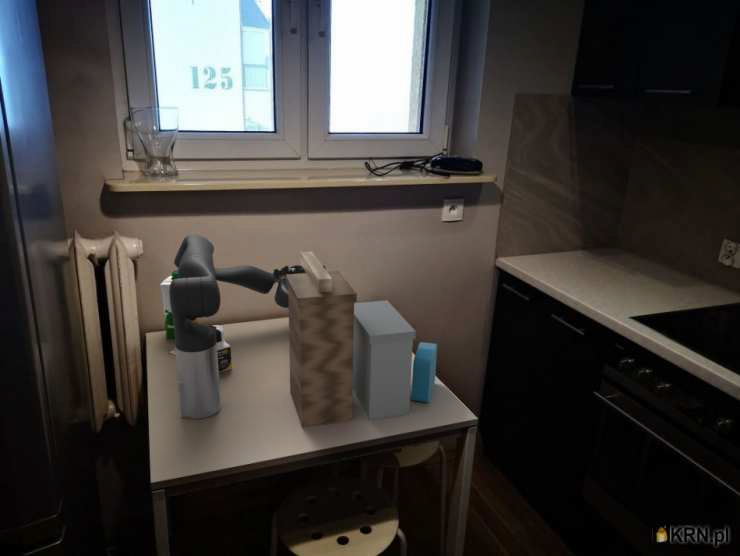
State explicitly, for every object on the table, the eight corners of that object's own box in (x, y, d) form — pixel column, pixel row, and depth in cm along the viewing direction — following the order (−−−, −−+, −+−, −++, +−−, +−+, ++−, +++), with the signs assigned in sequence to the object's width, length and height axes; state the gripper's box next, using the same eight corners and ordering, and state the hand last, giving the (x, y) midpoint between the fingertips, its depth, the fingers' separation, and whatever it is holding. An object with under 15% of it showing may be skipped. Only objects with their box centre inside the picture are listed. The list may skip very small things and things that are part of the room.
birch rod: (318, 292, 123) (318, 279, 122) (300, 263, 143) (300, 252, 142) (331, 291, 124) (332, 278, 123) (311, 262, 143) (311, 251, 143)
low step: (367, 420, 133) (370, 335, 126) (345, 379, 151) (346, 303, 144) (410, 414, 136) (415, 331, 129) (384, 375, 155) (387, 300, 148)
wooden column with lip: (299, 428, 129) (297, 298, 119) (288, 392, 144) (285, 274, 134) (354, 420, 133) (356, 293, 123) (337, 386, 148) (338, 271, 138)
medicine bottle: (207, 376, 151) (204, 335, 147) (197, 366, 156) (193, 326, 153) (232, 368, 156) (230, 329, 152) (220, 359, 161) (218, 320, 157)
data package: (418, 380, 152) (420, 339, 149) (434, 382, 151) (437, 342, 148) (410, 402, 141) (413, 359, 138) (428, 405, 140) (431, 362, 137)
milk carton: (200, 329, 180) (195, 270, 174) (190, 341, 172) (185, 279, 165) (173, 328, 180) (167, 269, 174) (162, 340, 172) (155, 278, 166)
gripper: (319, 291, 167) (330, 279, 151) (271, 295, 163) (277, 283, 147) (317, 266, 168) (327, 252, 153) (269, 269, 164) (275, 256, 149)
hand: (303, 268), depth 150 cm, fingers open, 8 cm apart
